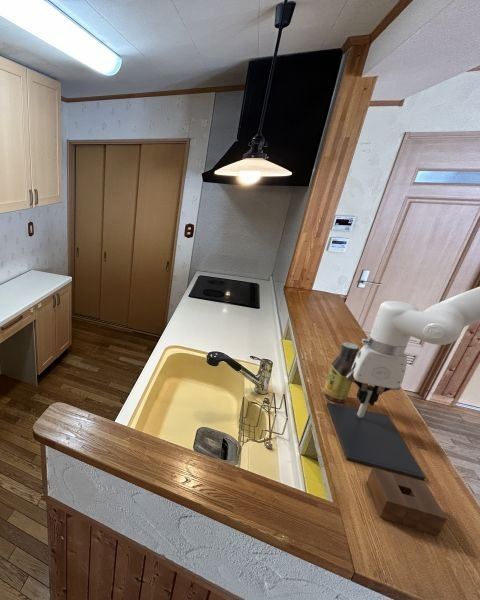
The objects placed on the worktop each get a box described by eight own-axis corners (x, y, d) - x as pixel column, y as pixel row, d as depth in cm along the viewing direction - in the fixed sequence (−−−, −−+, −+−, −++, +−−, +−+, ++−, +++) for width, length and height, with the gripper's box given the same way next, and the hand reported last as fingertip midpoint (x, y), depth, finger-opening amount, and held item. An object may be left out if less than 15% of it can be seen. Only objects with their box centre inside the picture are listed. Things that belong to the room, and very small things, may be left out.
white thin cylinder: (361, 416, 96) (373, 385, 92) (363, 419, 95) (375, 388, 91) (355, 415, 97) (366, 384, 93) (357, 418, 96) (368, 387, 92)
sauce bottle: (321, 389, 110) (336, 337, 103) (344, 395, 107) (361, 342, 100) (323, 400, 105) (339, 346, 98) (347, 406, 102) (365, 351, 95)
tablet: (386, 417, 97) (387, 414, 97) (424, 480, 77) (425, 477, 76) (326, 404, 103) (327, 401, 103) (346, 459, 83) (347, 456, 83)
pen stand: (417, 497, 73) (425, 481, 71) (438, 536, 65) (447, 518, 63) (365, 483, 77) (372, 467, 75) (379, 517, 69) (386, 500, 67)
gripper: (353, 346, 87) (335, 402, 94) (431, 358, 81) (405, 417, 88) (346, 334, 94) (329, 387, 100) (417, 345, 87) (395, 401, 94)
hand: (365, 401), depth 94 cm, fingers closed on white thin cylinder, 1 cm apart
